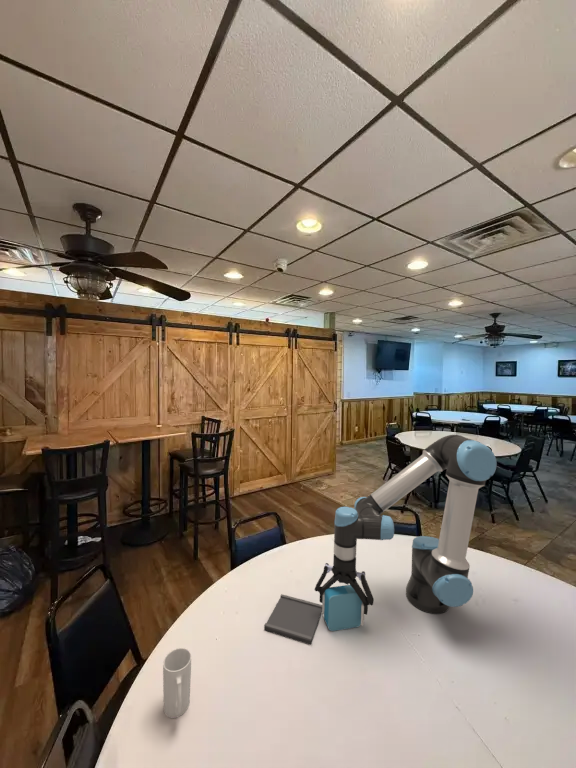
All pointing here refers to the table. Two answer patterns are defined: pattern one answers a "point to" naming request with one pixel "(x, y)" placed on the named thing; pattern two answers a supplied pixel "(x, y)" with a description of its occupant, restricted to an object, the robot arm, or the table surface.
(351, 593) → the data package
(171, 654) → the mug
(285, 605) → the dark gray square slab
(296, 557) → the table surface
